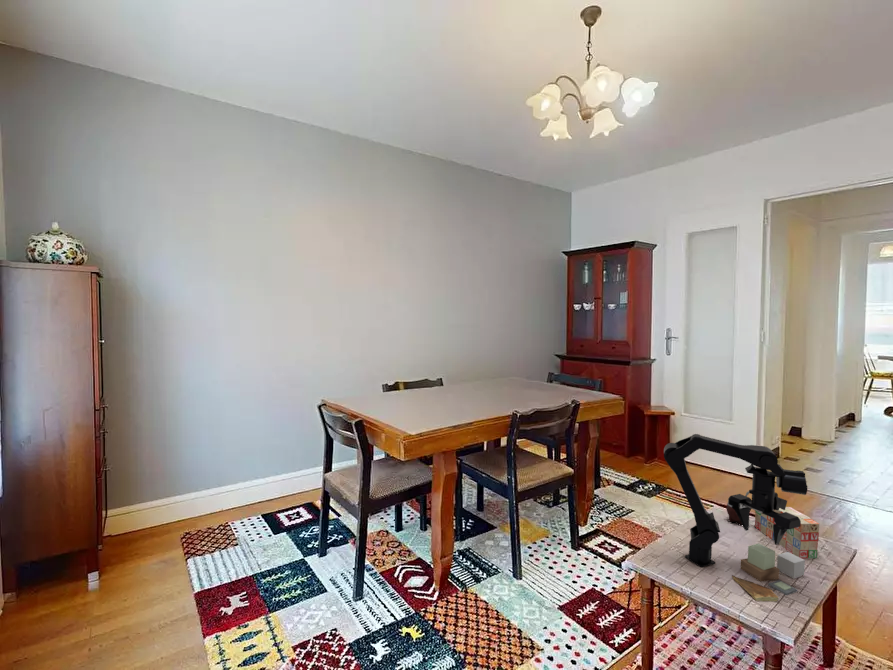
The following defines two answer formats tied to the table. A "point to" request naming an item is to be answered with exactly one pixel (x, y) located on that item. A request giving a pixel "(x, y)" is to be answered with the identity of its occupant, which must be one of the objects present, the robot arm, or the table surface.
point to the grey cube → (790, 564)
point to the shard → (756, 590)
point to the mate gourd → (733, 513)
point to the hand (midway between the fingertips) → (761, 537)
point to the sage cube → (761, 556)
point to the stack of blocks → (793, 533)
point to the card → (782, 587)
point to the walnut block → (759, 571)
